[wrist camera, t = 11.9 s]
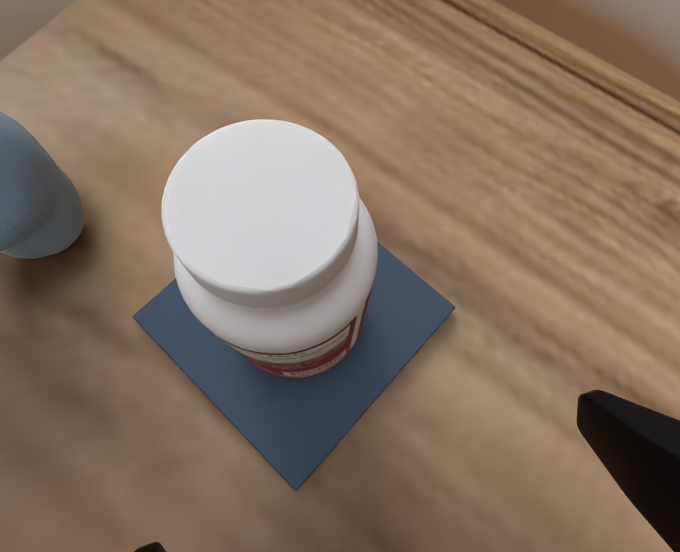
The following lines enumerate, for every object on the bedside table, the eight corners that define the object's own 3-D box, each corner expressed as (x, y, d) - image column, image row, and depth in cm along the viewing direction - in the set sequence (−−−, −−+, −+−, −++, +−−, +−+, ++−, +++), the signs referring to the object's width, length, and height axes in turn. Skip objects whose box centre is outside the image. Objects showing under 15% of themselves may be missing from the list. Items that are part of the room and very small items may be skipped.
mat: (452, 310, 21) (456, 306, 21) (296, 489, 18) (295, 491, 18) (296, 178, 24) (295, 172, 23) (137, 319, 21) (131, 316, 20)
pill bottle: (278, 233, 22) (231, 55, 11) (385, 292, 21) (439, 157, 10) (206, 337, 20) (68, 237, 9) (319, 406, 19) (304, 381, 8)
